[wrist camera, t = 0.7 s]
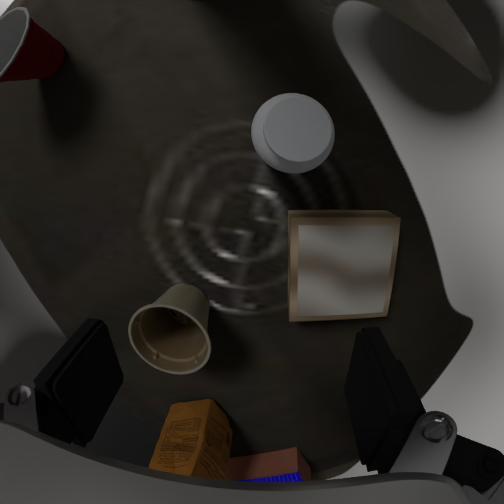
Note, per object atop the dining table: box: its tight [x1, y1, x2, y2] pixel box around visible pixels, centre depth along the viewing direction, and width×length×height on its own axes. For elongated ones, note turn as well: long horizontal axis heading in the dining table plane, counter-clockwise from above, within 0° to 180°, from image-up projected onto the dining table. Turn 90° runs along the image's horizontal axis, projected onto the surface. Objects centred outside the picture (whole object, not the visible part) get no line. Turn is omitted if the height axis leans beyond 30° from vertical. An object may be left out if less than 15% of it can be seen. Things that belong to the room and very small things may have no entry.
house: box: [224, 447, 312, 482], centre depth 45 cm, size 12×20×12 cm, turn 112°
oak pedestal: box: [288, 210, 401, 321], centre depth 32 cm, size 12×12×4 cm
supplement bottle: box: [251, 93, 335, 173], centre depth 24 cm, size 7×7×13 cm
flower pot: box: [128, 284, 211, 374], centre depth 33 cm, size 9×9×9 cm
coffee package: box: [149, 399, 233, 480], centre depth 35 cm, size 10×12×22 cm
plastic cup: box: [0, 7, 64, 82], centre depth 21 cm, size 11×11×12 cm
